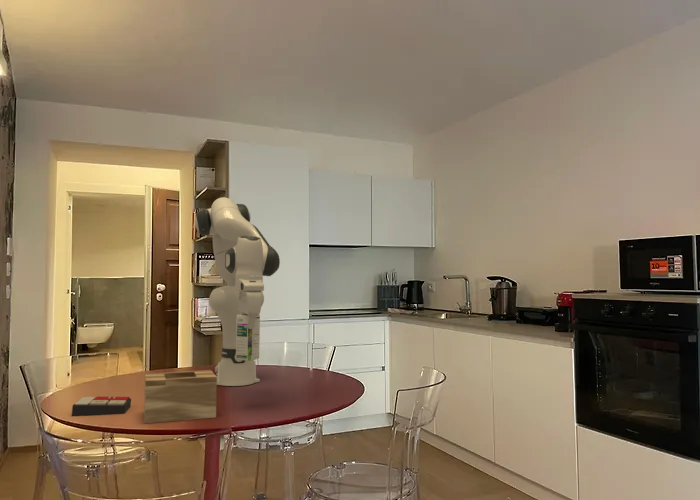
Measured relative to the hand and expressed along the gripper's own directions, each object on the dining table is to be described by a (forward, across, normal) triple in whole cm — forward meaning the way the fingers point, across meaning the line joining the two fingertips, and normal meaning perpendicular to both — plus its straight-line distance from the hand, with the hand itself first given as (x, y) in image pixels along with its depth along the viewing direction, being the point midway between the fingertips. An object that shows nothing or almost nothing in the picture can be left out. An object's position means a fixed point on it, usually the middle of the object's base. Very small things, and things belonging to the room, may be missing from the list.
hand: (248, 327), depth 176 cm
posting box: (+26, +2, -21) cm, 33 cm away
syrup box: (+10, 0, 0) cm, 10 cm away
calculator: (+27, -12, -43) cm, 52 cm away
